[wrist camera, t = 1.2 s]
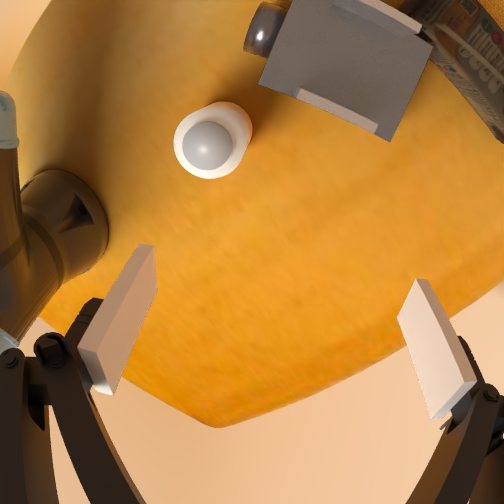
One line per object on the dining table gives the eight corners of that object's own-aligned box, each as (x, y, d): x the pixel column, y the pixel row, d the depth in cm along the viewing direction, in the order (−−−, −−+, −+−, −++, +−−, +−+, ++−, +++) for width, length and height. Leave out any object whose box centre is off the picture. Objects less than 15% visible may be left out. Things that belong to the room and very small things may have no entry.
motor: (239, 74, 28) (220, 75, 19) (274, -11, 22) (271, -45, 14) (371, 129, 29) (406, 154, 21) (408, 49, 24) (455, 45, 16)
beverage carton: (494, 143, 28) (526, 160, 22) (383, 21, 23) (406, 11, 17) (524, 102, 24) (558, 113, 18) (421, -22, 19) (448, -36, 14)
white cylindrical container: (188, 146, 32) (163, 168, 25) (204, 94, 29) (182, 101, 22) (241, 164, 33) (229, 191, 26) (261, 112, 30) (254, 124, 23)
